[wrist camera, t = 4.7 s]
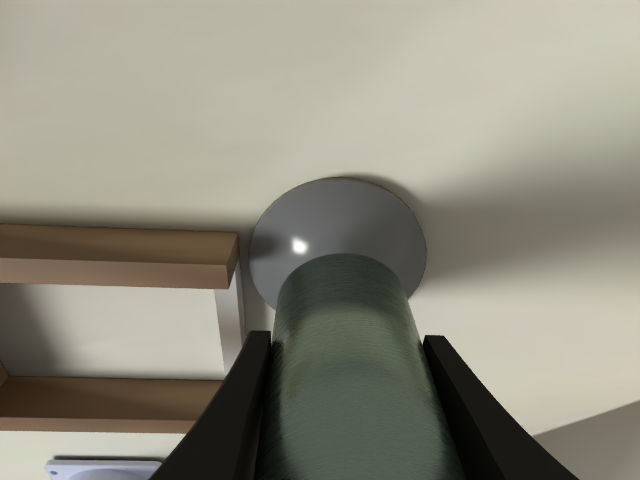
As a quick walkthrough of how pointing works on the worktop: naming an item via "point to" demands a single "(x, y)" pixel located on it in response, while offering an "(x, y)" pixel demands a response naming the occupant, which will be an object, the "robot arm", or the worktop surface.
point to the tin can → (350, 381)
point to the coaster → (335, 232)
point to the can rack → (119, 270)
